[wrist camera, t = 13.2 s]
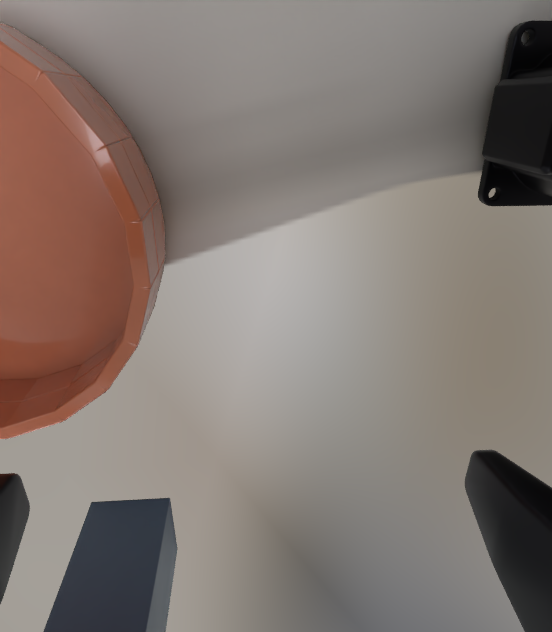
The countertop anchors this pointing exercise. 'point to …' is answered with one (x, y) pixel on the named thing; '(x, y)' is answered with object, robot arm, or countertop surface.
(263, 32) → the countertop surface
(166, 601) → the block
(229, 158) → the countertop surface
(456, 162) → the countertop surface
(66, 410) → the bowl
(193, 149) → the countertop surface
